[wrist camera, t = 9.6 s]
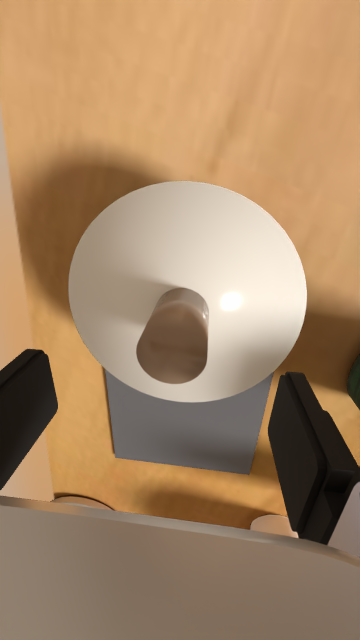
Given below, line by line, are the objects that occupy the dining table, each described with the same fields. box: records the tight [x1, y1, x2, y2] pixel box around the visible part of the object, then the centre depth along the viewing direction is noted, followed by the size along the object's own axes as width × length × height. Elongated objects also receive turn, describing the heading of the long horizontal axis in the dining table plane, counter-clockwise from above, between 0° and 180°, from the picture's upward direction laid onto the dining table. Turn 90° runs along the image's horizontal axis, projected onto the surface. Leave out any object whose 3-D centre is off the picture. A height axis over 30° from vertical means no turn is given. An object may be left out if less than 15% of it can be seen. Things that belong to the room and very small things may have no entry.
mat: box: [105, 369, 274, 475], centre depth 28 cm, size 16×16×1 cm
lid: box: [68, 181, 307, 402], centre depth 14 cm, size 14×14×6 cm
